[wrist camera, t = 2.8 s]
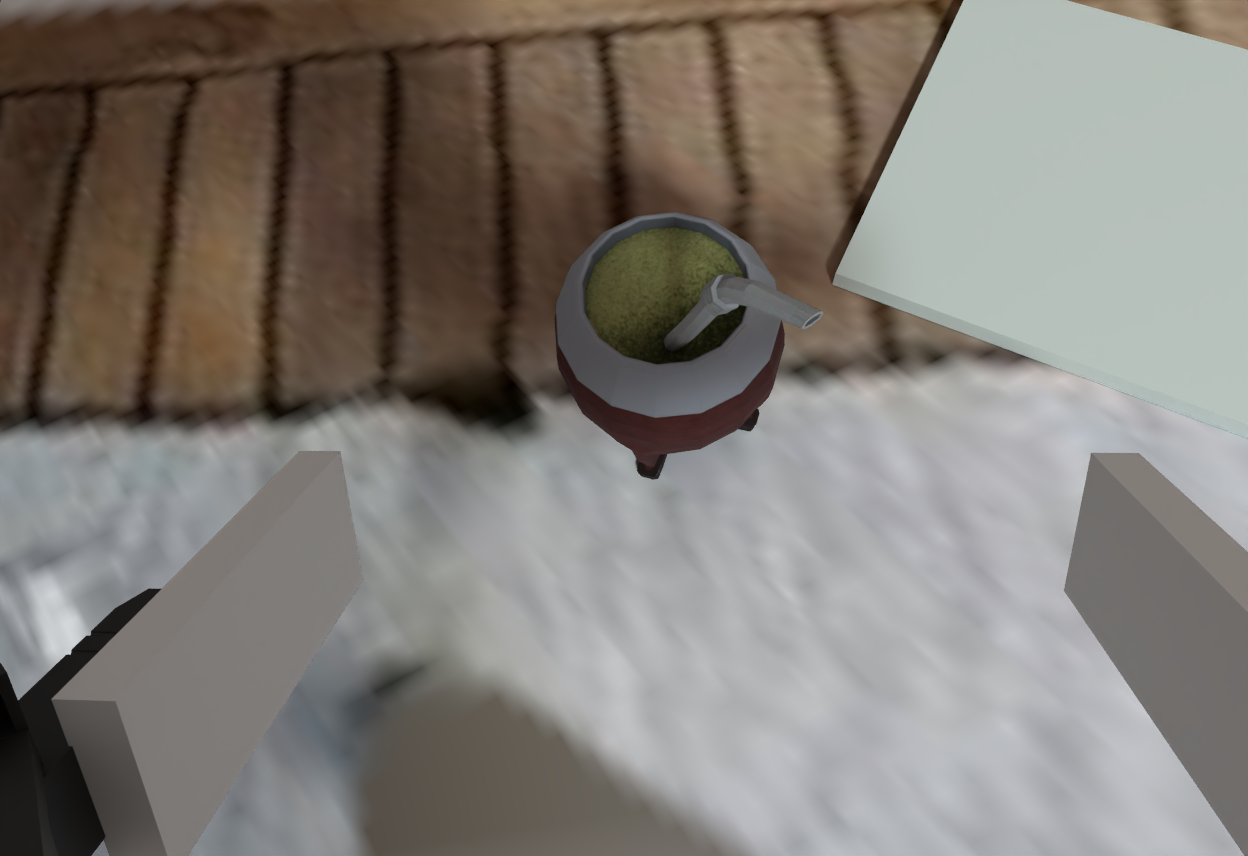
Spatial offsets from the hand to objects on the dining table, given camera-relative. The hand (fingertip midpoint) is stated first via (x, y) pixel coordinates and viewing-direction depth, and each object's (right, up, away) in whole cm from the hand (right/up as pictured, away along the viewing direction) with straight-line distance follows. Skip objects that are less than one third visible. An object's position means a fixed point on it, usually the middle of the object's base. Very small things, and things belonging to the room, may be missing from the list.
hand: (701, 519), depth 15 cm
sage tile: (+20, +10, +17) cm, 28 cm away
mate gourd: (+1, +2, +16) cm, 16 cm away
